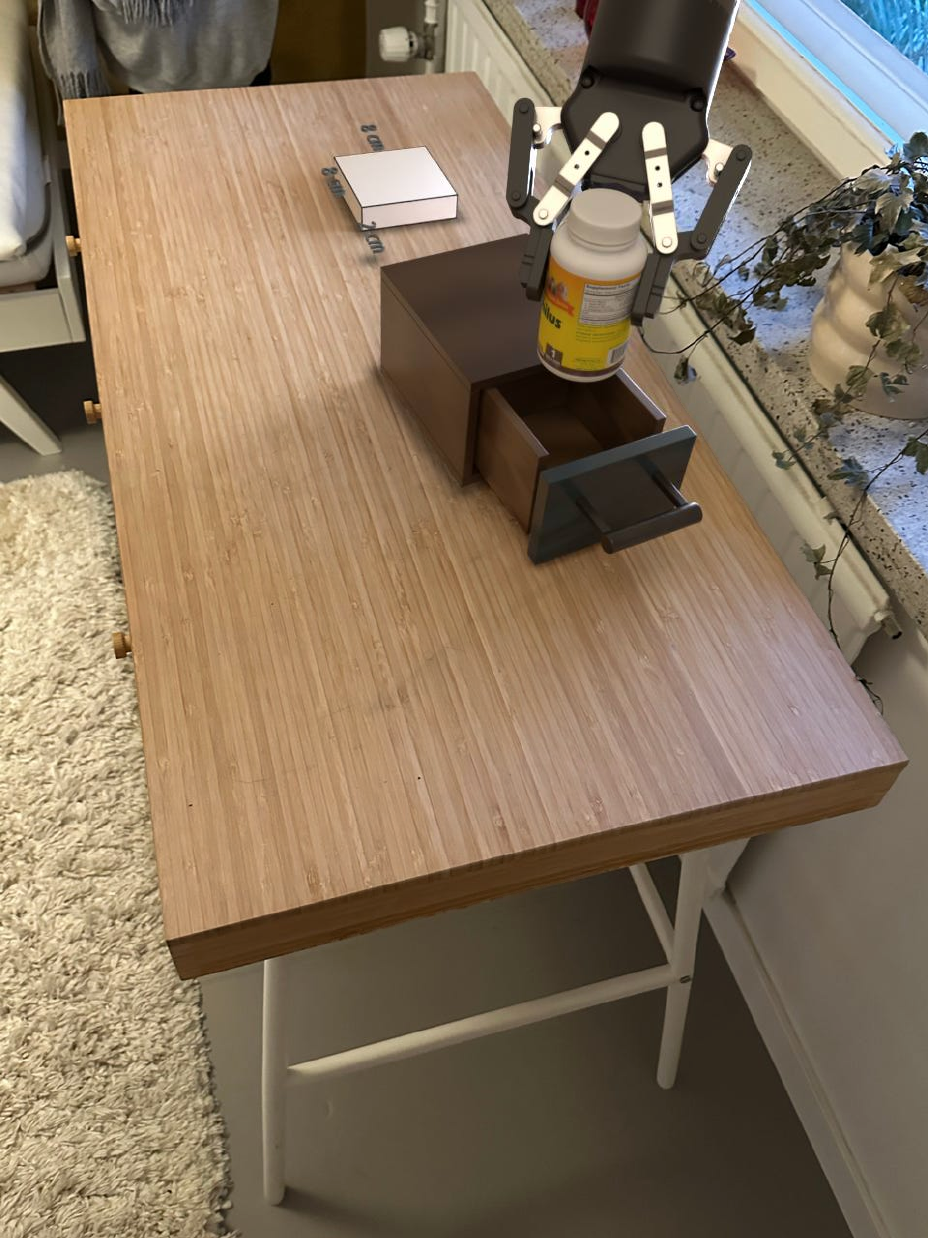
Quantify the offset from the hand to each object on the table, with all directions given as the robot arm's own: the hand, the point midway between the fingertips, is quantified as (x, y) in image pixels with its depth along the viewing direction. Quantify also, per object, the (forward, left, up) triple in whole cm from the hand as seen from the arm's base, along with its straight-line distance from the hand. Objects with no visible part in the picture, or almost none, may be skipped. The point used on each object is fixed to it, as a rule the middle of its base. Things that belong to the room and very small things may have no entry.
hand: (584, 309), depth 59 cm
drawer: (-3, -1, -17) cm, 18 cm away
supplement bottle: (-1, -1, -5) cm, 5 cm away
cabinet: (-3, -13, -18) cm, 23 cm away
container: (-8, -44, -18) cm, 49 cm away
